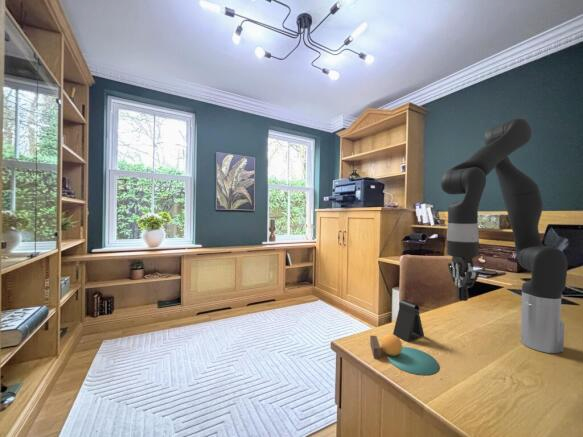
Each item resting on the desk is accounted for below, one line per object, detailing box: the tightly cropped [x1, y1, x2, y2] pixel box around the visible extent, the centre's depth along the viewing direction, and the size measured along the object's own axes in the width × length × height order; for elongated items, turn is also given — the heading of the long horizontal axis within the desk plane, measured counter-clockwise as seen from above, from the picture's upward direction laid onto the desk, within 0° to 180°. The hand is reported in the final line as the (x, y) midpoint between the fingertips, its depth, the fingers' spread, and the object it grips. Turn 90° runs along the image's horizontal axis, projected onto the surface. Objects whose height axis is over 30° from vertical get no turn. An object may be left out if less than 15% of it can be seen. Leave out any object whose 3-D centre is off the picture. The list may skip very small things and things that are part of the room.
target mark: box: [386, 346, 440, 376], centre depth 75 cm, size 14×14×1 cm
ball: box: [380, 333, 403, 356], centre depth 78 cm, size 6×6×6 cm
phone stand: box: [392, 299, 425, 343], centre depth 90 cm, size 9×6×12 cm, turn 118°
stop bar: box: [369, 335, 382, 359], centre depth 80 cm, size 2×8×3 cm, turn 170°
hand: (461, 299), depth 72 cm, fingers closed
